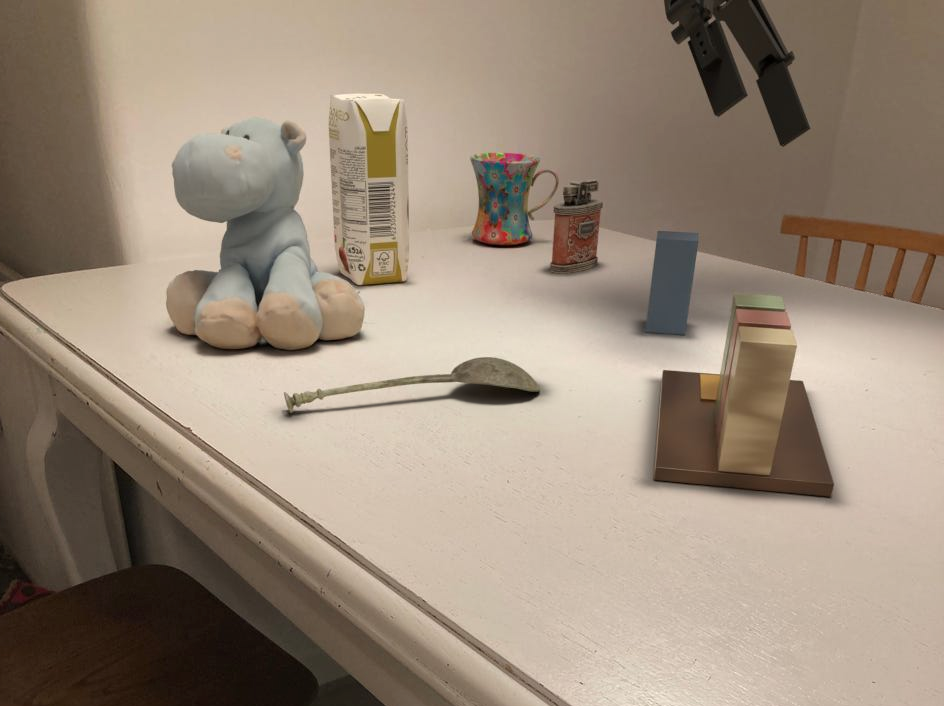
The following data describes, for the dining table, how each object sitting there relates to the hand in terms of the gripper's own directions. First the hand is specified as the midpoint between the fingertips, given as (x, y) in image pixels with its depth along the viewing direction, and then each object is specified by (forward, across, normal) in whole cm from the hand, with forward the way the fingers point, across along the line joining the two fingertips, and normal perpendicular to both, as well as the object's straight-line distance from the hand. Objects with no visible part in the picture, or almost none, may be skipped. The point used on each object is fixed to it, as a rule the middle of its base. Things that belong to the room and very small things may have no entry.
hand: (765, 122), depth 83 cm
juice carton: (-12, 0, -48) cm, 49 cm away
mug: (-18, -28, -45) cm, 56 cm away
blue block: (+9, -6, -18) cm, 21 cm away
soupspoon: (+13, +26, -26) cm, 39 cm away
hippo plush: (-5, +20, -46) cm, 50 cm away
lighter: (-8, -22, -34) cm, 41 cm away
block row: (+25, +14, -6) cm, 30 cm away
